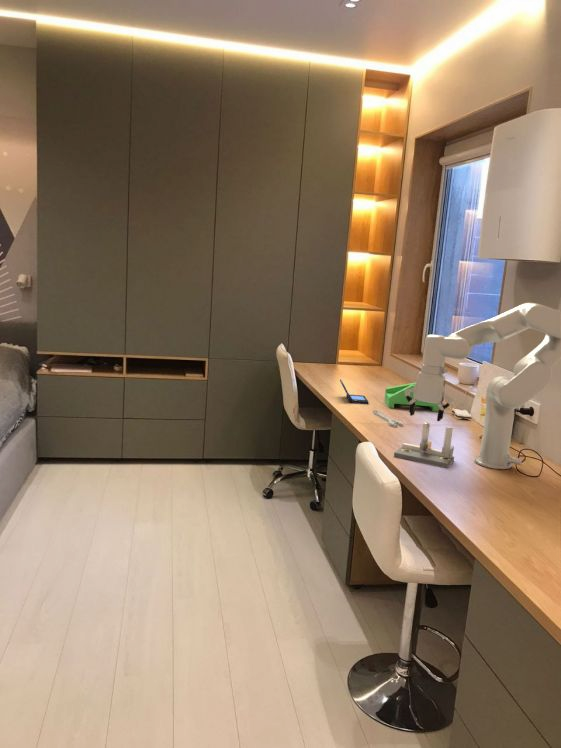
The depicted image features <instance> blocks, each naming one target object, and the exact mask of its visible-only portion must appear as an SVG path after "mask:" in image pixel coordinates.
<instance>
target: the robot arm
mask: <svg viewBox="0 0 561 748" xmlns="http://www.w3.org/2000/svg"><path fill="white" fill-rule="evenodd" d="M530 329H531V330H535V331H537V332H540V333H543V334H545V335H544V336H543V337H544V338H543V339H542V341H541V343H539V344H538V345H537V346H536V347H535V348H533V349H532V350H531V351H530V352H529V353H527V354H526V355H525V356H524V357H522V358H521V359H520V360H518V361H517V362H516V364H515V365H514V366H513V367H514V368H513V375H514V376H513V377H512V378H510V377H509V376H505V375H498V376H496V377H494V378H492V379H491V380H490V381H489V383H487V384H488V385H487V387H486V397H485V398H486V400H485V401H486V403H485V404H486V407H485V413H484V414H485V415H484V422H483V431H482V436H481V437H482V438H481V444H480V451H479V455H477V456H475V457H474V462H475V463H476V464H478V465H479V466H482V467H485V468H489V469H495V470H506V469H507V470H508V469H509V470H510V469H511V468H512V465H513V464H514V465H518V466H521V464H522V459H521V458H520V459H519V457H513V456H512V455H511V452H510V448H511V447H510V446H511V441H512V432H513V425H514V420H515V410H516V409H518V408H521V407H522V406H524V405H525V404H527V403H528V402H529V401H531V400H532V399H533V398H534V397H536V396H537V395H538V394H539V393H541V392H542V391H543V390H544V389H545V388H546V387H547V386H548V385H549V384H550V383H551V381H552V378H553V370H552V368H553V367H554V366H555V365H557V363H559V362H560V361H561V310H559V309H555V308H552V307H550V306H546V305H543V304H540V303H535V302H525V303H522V304H520V305H517V306H515V307H514V308H511V309H509V310H507V311H505V312H503V313H500V314H498V315H496V316H494V317H491V318H489V319H486V320H483V321H480V322H478V323H475V324H472V325H470V326H469V325H468V326H467V327H464V328H462V329H460V330H458V331H456V332H453V333H451V334H449V335H448V336H445V335H441V334H430V333H429V334H428V335H426V337H425V340H424V347H423V355H422V360H421V361H422V362H421V367H420V368H421V369H420V371H419V372H418V373H417V376H416V381H415V382H416V384H415V387H414V388H411V389H408V390H405V391H404V393H405V396H406V399H407V400H408V402H409V404H410V405H409V411H408V412H409V416H410V417H412V416H414V415H415V411H416V406H417V405H416V404H415V402H416V401H417V400H418V401H423V402H428V403H433V404H437V405H438V407H439V410H438V411H437V418H436V421H437V422H441V420H442V419H443V418H444V412H445V409H447V408H449V407H450V406H451V404H453V402H454V398H453V397H451V396H450V395H449V394H447V393H446V376H445V374H448V371H449V369H446V368H445V362H446V358H451V359H454V360H465V359H466V358H468V357H469V356H470V355H471V353H472V349H473V348H474V347H477V346H479V345H482V344H489V343H491V344H492V343H498V342H503V341H505V340H507V339H509V338H512V337H513V336H516V335H518V334H520V333H522V332H523V333H524V331H527V330H530ZM413 391H414V393H413V399H412V398H411V396H410V394H409V393H410V392H413ZM445 400H447V402H446V403H445V404H444V401H445Z"/></svg>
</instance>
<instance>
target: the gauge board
mask: <svg viewBox="0 0 561 748" xmlns="http://www.w3.org/2000/svg"><path fill="white" fill-rule="evenodd" d="M453 428H454V427H453V426H448V425H447V426H445V429H444V430H445V431H444V438H443V439H444V440H443V447H442V449H436V448H432V447H431V448H430V449H429V450H427V451H425V453H422V451H421V450H420V445H417V444H411V443H407V442H403V443H402V445H401V447H400V448H398V449H397V450H396V451H394V453H393V457H394V458H399V459H404V460H409V461H413V462H417V463H423V464H427V465H432V466H436V467H441V468H446V469H448V468H449V467H450V465H452V463H453V462H454V460H455V456H454V449H455V445H451V444H452V439H453V438H452V437H453Z"/></svg>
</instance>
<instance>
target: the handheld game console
mask: <svg viewBox="0 0 561 748" xmlns="http://www.w3.org/2000/svg"><path fill="white" fill-rule="evenodd" d="M339 382H340V384H341V386H342V387H343V390H344V391H345V393H346V398H347V400H348V401H349V403H350V404H358V403H360V404H359V405H368V404H369V401H368V399H367V397H366V396H365V395H361V394H360V395H359V394H349V391H348V390H347V388H346V386H345V384H344V383H343V380H342V379H339Z"/></svg>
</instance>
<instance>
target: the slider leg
mask: <svg viewBox="0 0 561 748" xmlns="http://www.w3.org/2000/svg"><path fill="white" fill-rule="evenodd" d="M430 426H431V423H430V422H426V421H425V422H424V421H423V422H422V430H421V438H420V443H419V446H420V450H421V451H422V453H425V451H427V450H429V449H430V448H432V441H429V436H430Z"/></svg>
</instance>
